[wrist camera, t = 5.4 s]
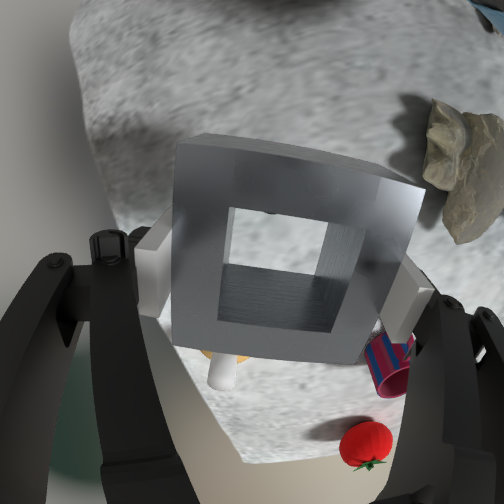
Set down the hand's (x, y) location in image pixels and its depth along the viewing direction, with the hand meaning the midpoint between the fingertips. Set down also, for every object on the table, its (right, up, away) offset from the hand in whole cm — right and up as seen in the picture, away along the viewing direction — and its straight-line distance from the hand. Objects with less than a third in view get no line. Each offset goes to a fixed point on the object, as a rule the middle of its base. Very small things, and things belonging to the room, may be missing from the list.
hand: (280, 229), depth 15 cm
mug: (+17, -13, +21) cm, 30 cm away
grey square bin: (0, 0, 0) cm, 0 cm away
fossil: (+19, +8, +10) cm, 23 cm away
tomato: (+20, -35, +32) cm, 51 cm away
